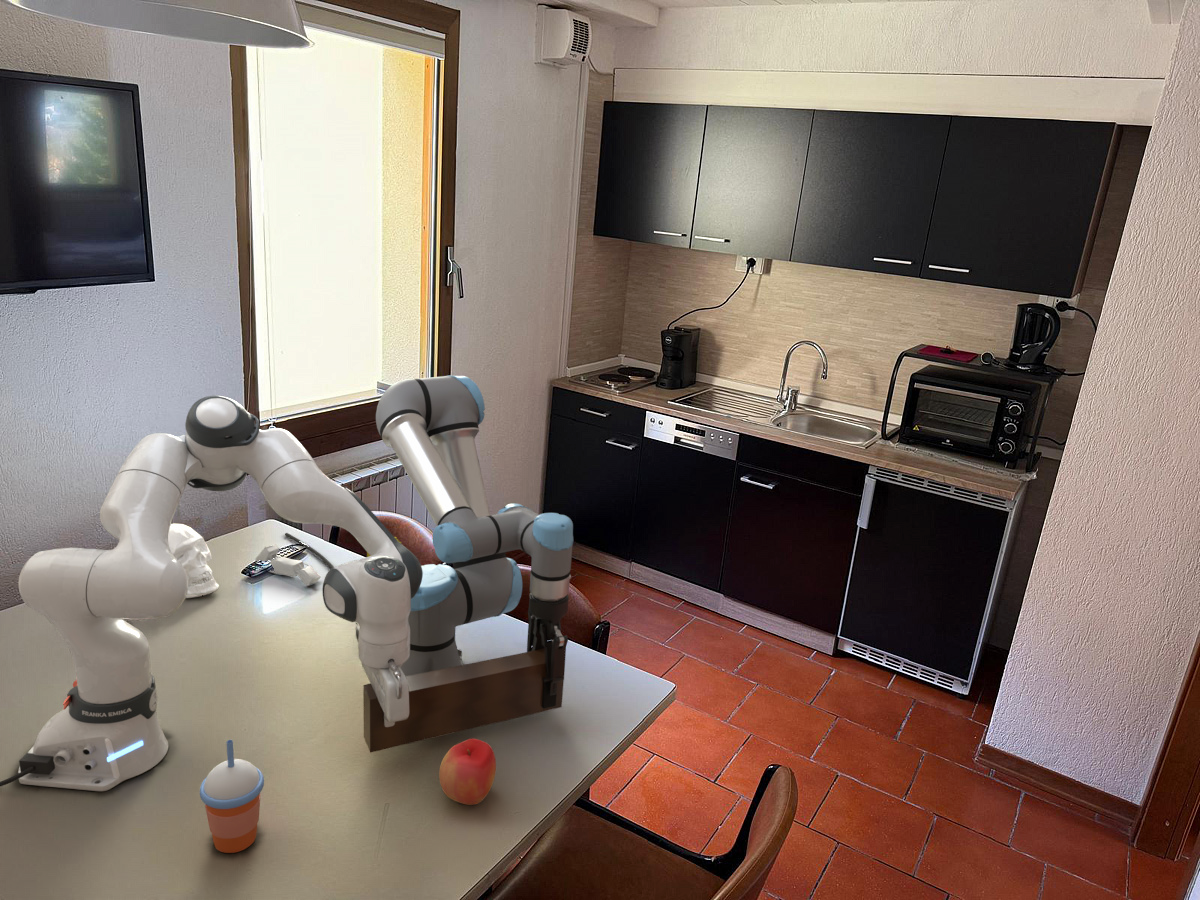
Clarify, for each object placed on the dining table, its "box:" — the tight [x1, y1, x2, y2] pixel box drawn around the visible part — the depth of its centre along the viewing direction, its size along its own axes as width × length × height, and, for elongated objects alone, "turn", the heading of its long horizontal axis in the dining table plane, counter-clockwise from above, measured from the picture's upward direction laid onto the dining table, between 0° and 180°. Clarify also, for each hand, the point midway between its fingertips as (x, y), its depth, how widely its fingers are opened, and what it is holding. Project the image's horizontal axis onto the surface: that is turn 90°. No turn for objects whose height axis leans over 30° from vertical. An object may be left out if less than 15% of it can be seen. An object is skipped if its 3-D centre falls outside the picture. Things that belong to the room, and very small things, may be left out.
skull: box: [168, 523, 220, 599], centre depth 208 cm, size 13×22×16 cm, turn 73°
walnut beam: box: [362, 649, 565, 754], centre depth 162 cm, size 38×5×11 cm, turn 118°
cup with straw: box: [199, 739, 265, 854], centre depth 131 cm, size 9×9×18 cm
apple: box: [438, 738, 497, 806], centre depth 145 cm, size 10×10×10 cm
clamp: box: [254, 544, 322, 587], centre depth 219 cm, size 20×4×7 cm, turn 62°
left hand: (384, 714), depth 155 cm, fingers closed on walnut beam, 5 cm apart
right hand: (542, 698), depth 171 cm, fingers closed on walnut beam, 5 cm apart
